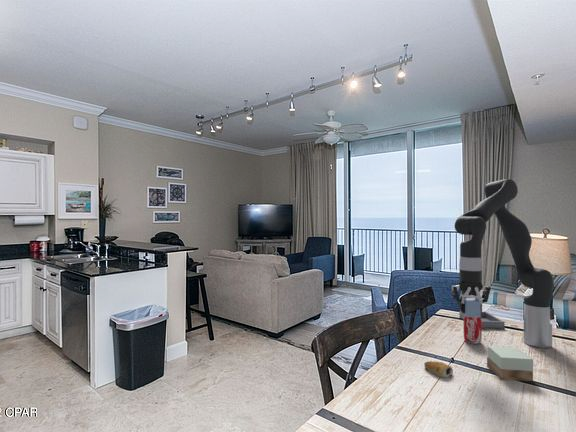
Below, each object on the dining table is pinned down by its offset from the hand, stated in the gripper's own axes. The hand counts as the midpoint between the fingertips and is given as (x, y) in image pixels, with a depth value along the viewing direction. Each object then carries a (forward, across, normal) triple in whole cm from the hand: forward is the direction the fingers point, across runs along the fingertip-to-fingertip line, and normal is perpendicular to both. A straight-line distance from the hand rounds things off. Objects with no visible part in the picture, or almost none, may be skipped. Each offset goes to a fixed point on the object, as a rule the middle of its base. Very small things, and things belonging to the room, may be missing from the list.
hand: (470, 312), depth 126 cm
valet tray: (+19, -27, -50) cm, 60 cm away
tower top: (+15, -10, +8) cm, 20 cm away
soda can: (+19, -10, -22) cm, 31 cm away
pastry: (+19, +15, +10) cm, 26 cm away
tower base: (+19, -10, +8) cm, 23 cm away
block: (+1, 0, 0) cm, 1 cm away
